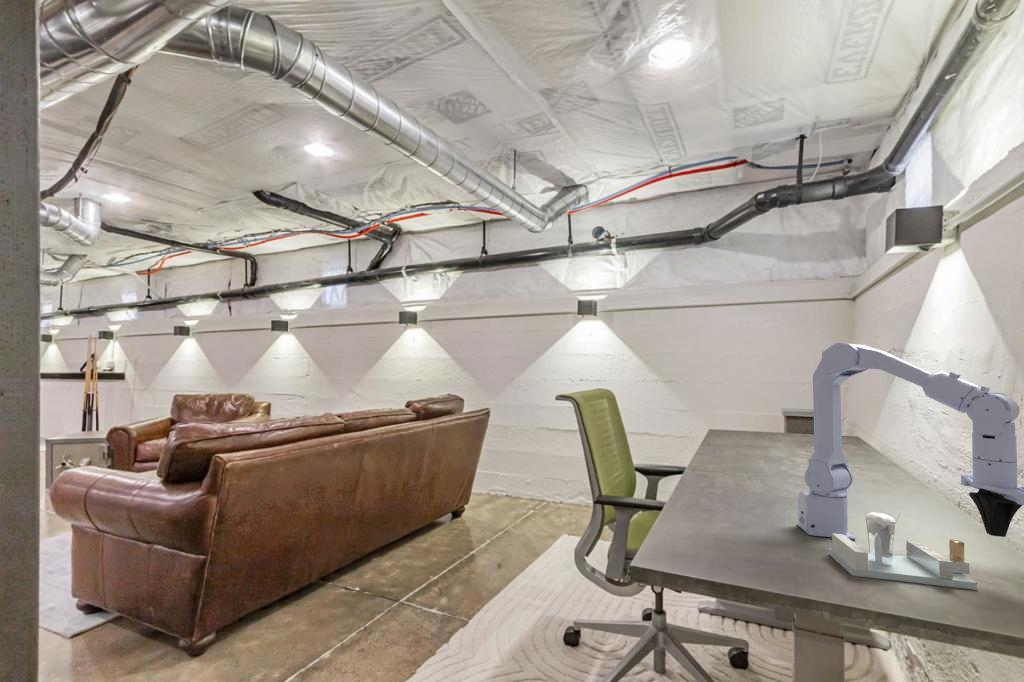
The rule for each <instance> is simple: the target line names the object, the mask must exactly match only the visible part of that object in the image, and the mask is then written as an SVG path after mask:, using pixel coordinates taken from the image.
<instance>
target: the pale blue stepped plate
mask: <svg viewBox="0 0 1024 682" xmlns="http://www.w3.org/2000/svg"><path fill="white" fill-rule="evenodd" d="M828 551H829V554H828V555H829V556H830V557H831V558H833V559H834V560H835V561H836V562H837V563H838V564H839V565H840V566H841V567H842V568H844V569H845V571H847V572H848V573H849V574H850V575H851V576H854V577H863V578H869V579H870V578H873V579H880V580H888V581H889V580H890V581H897V582H907V583H914V584H923V585H924V584H925V585H931V586H932V585H933V586H939V587H947V588H958V589H967V590H975V591H977V590H978V582H977V581H975V580H973V579H971V578H970V577H968V576H966V574H961V573H953V579H944V578H939V577H937V576H936V575H934V574H933V573H931V572H930V571H928V570H927V569H925V568H924V567H922V566H921V565H919V564H918V563H916V562H915V561H913V560H912V559H910V558H909V557H907V556H906V555H905V556H904V555H894V554H893V556H892V565H890V566H885V565H880V564H876V563H874V562H872V561H871V560H870V552H867V551H866V550H864V549H863V548H862V547H861V546H859V545H858V543H857V544H856V543H855V542H854V541H853V540H852V539H849V538H847V537H846V536H845V535H843V534H834V533H832V537H831V548H828Z"/></svg>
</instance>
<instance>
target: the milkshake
mask: <svg viewBox="0 0 1024 682" xmlns="http://www.w3.org/2000/svg"><path fill="white" fill-rule="evenodd" d="M900 516H901V512H900V513H899V515H898V516H897V518H896V520H895V519H894V517H892V516H890V515H888V514H886V513H883V512H881V513H880V512H875V511H870V512H869V513H867V514H866V515H865V524H866V530H867V539H868V540H867V541H868V550H869V552H868V553H870V560H871V561H872V562H874V563H876V564H880V565H885V566H890V565H892V556H893V555H894V541H895V533H896V532H895V531H896V524H897V523H896V522H897V521H898V519H899V517H900Z"/></svg>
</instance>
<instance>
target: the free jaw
mask: <svg viewBox="0 0 1024 682" xmlns="http://www.w3.org/2000/svg"><path fill="white" fill-rule="evenodd" d="M905 543H906V544H905V545H906V557H909V558H910V559H912V560H913V561H915V562H916V563H918V564H919V565H921V566H922V567H924V568H925V569H927V570H928V571H930V572H931V573H933V574H934V575H936V576H937V577H939V578H944V579H953V573H961V574H963V575H970V562H969V561H967V560H965V542H964V541H961V540H957V539H949V541H948V545H949V549H948V550H949V555H946V554H940V553H939V552H936V551H935V550H933V549H931V548H930V547H929V546H926V545H925V544H923V543H921V542H919V541H914V540H906V541H905Z"/></svg>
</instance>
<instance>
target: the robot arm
mask: <svg viewBox="0 0 1024 682" xmlns="http://www.w3.org/2000/svg"><path fill="white" fill-rule="evenodd" d="M868 370H880V371H883V372H886V373H887V374H890V375H893V376H894V377H897V378H900V379H903V380H904V381H907V382H909V383H911V384H914V385H916V386H919V387H921V388H922V391H923V392H924V393H923V394H924V395H925V396H926V397H928V398H930V399H932V400H933V401H936V402H938V403H940V404H942V405H945V406H947V407H948V408H951V409H953V410H955V411H957V412H960V413H962V414H967V416H968V418H969V419H970V420H971V421H972V431H971V432H972V433H971V442H972V443H971V446H972V447H971V449H972V453H971V454H972V475H967V474H966V475H965V474H961V475H960V484H961V485H962V486H965V487H971V488H974V489H975V490H978V491H977V492H974V491H973V492H972V491H970V492H969V493H968V495H969V498H971V500H972V501H973V503H974V504H975V506H976V508H977V510H978V512H979V514H980V517H981V521H982V523H983V526H984V529H985V532H986V534H987V535H989V536H992V537H1002V538H1006V536H1007V534H1008V530H1009V527H1010V524H1011V522H1012V519H1013V518H1014V516H1015V514H1016V513H1017V512H1018V511H1019V510H1020V509H1021V507H1022V506H1024V485H1020V484H1018V459H1017V458H1018V456H1017V435H1016V423H1015V420H1017V419H1018V417H1019V415H1020V405H1019V404H1018V403H1017V402H1016V401H1015V400H1014V399H1013V398H1011V397H1010V396H1008V395H1006V393H1002V392H991V393H990V390H991V388H990V387H989V386H986V385H982V386H980V385H977V384H975V383H973V382H970V381H967V380H965V379H962V378H960V377H961V374H960V373H958V372H954V371H950V372H946V371H938V372H935V373H931V372H930V371H927V370H925V369H923V368H921V367H919V366H916V365H914V364H912V363H910V362H908V361H906V360H904V359H901V358H900V357H897V356H895V355H893V354H892V353H889V352H887V351H884V350H881V349H878V348H874V347H870V346H869V345H866V344H861V343H860V344H858V343H857V344H855V343H848V342H836V343H833V344H832V345H830V346H829V347H828V348H826V349H825V350H823V351H822V352H821V360H820V361H819V363H818V365H817V367H816V369H815V370H814V372H813V374H812V393H813V394H812V400H813V401H812V402H813V431H814V433H813V437H814V438H813V440H814V451H813V452H812V454H811V455H810V457H809V458H808V460H807V462H808V465H807V469H806V470H805V472H804V482H805V484H806V486H807V488H809V489H810V490H808V491H800V492H799V494H798V497H797V522H796V525H797V526H798V527H800V529H802V531H804V533H805V534H807V535H808V536H814V537H815V536H816V537H817V536H818V537H826V538H827V537H828V538H832V533H834V534H843V535H845V536H846V537H847V538H849V539H850V540H857V538H856V536H854V535H853V534H852V533H851V532H849V530H848V529H849V528H848V527H849V526H848V525H849V524H848V523H849V520H848V519H849V518H848V517H849V516H848V513H849V512H848V510H849V509H848V508H849V507H848V500H849V499H848V489H849V488H850V487H851V486H852V485H853V480H854V478H853V477H854V476H853V473H852V471H851V470H850V468H849V465H848V458H847V457H846V456H845V454H844V453H843V442H842V441H843V436H842V435H843V434H842V433H843V432H842V412H841V411H842V409H841V408H842V406H841V405H842V404H841V385H842V384H843V383H845V381H847V380H849V379H850V378H851V377H852V376H854V375H857V374H860V373H863V372H865V371H868Z"/></svg>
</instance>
